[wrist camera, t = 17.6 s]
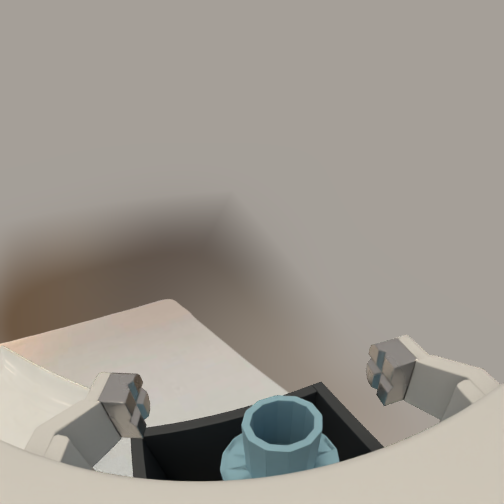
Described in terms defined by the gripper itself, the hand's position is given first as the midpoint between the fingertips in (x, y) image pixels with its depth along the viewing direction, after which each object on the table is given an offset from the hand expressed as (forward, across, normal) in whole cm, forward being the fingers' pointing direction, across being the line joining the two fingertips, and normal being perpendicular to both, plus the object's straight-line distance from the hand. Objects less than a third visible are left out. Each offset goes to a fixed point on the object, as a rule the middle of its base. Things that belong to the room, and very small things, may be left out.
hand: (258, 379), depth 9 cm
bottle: (-1, 0, +16) cm, 16 cm away
